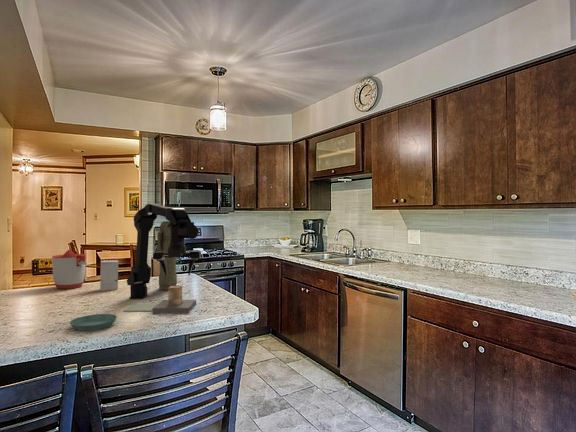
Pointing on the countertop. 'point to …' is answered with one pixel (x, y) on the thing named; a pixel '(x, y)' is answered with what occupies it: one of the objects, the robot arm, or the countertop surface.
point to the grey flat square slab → (174, 307)
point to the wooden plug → (175, 295)
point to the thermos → (171, 262)
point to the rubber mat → (140, 308)
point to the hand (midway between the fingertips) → (177, 275)
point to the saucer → (93, 322)
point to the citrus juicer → (69, 270)
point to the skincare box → (109, 275)
